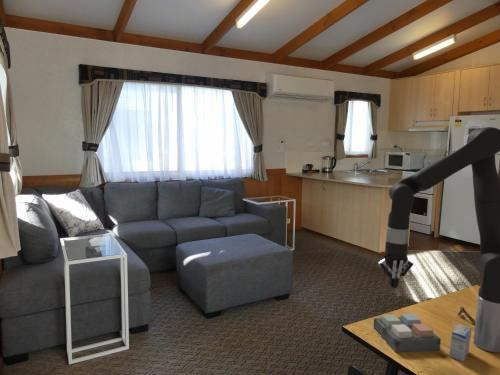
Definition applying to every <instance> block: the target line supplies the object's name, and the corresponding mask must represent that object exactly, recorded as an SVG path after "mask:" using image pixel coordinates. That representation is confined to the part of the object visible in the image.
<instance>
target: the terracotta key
mask: <svg viewBox="0 0 500 375" xmlns="http://www.w3.org/2000/svg"><path fill="white" fill-rule="evenodd" d="M412 331H413V332H414V333H415V334H416V335H417V336H418V337H419V338H420V337H433V333H434V330H433V329H432V328H431V327H430V326H429V325H428V324H426V323H422V324H412Z"/></svg>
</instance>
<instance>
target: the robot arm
mask: <svg viewBox="0 0 500 375" xmlns="http://www.w3.org/2000/svg"><path fill="white" fill-rule="evenodd" d="M499 152H500V128H497V127H492V126H489V127H488V126H487V127H485V126H484V127H478V128H476V129H474V130H473V131H471V132H470V133H469V134H468V137H467V140H466V143H465V145H463V146H462V147H459V149H457V150H455V151H453V152H451V153H449V154H447V155H444V156H443V157H441V158H438V159H436V160H435V161H432V162H431V163H429V164H427V165H426V166H424V167H422V168H421V169H419V170H418V171H417V172H414V174H411V175H409V176H407V177H405V178H402V179H400V180H399V181H397V182H395V183H394V184H392V185H391V187H390V188H389V190H388V196H389V198H390V200H391V209H390V211H389V213H388V218H387V229H386V233H385V247H384V256H383V259H382V260H378V261H377V262H376V263H377V265H378V267H379V268H380V269H381V271H382V273H383V274H385V275H386V276H387V277H388V278H389V279H388V285H389V286H390V288H392V289H397V288H398V287H399V283H400V280H399V279H400V278H401V277H404V276H405V275H406V274H407V273H408V272H409V271H410V270H411V268H412V267H413V266H414V263H413V262H412V261H410V260H409V258H408V252H409V241H410V223H411V222H410V221H411V219H410V218H411V213H412V210H413V207H414V206H413V205H414V199H415V198H414V197H415V196H414V195H416V194H418V193H420V192H422V191H423V192H426V191H427V190H429V189H431V188H433V187H435V186H436V185H438V184H440V183H441V182H444V181H445V180H446V179H448V178H450V177H451V176H453V175H454V174H456V173H458V172H459V171H461V170H463V169H465V168H467V167H468V166H470V165H471V170H472V172H471V173H472V186H473V198H474V199H473V200H474V208H475V210H474V211H475V216H476V223H477V228H478V232H479V233H478V234H479V244H480V245H479V265H480V268H481V270H482V271H483V273H482V282H481V285H480V287H479V288H478V294H477V295H478V296H477V304H476V312H475V313H476V314H475V324H474V332H473V341H472V342H473V344H474V345H475V346H476V347H478V348H480V349H481V350H484V351H487V352H491V353H500V175H499V172H498V170H497V164H496V154H497V153H499ZM386 266H387V267H386Z"/></svg>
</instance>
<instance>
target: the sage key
mask: <svg viewBox="0 0 500 375" xmlns="http://www.w3.org/2000/svg"><path fill="white" fill-rule="evenodd" d="M380 316H381V321H382V322H383V323H384V325H385V326H386V327H392V325H400V322H401V320H399V319H398V318H397V317H398V316H396V315H395V314H393V313H392V314H381V315H380Z"/></svg>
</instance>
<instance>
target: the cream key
mask: <svg viewBox="0 0 500 375" xmlns="http://www.w3.org/2000/svg"><path fill="white" fill-rule="evenodd" d="M391 332H392V333H393V334H394V335H395V336H396V337H397V338H398V339H399V338H412V330H410V329H409V328H408V327H407V326H406V325H405V324H401V325H392V329H391Z"/></svg>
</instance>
